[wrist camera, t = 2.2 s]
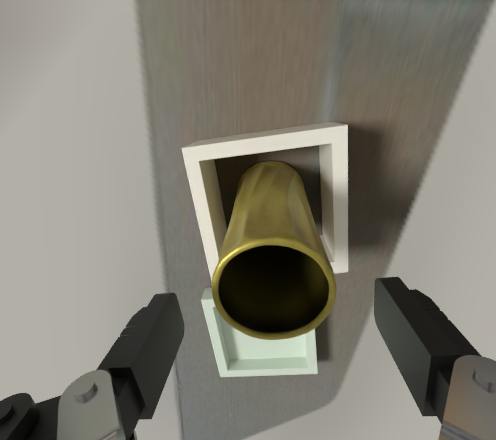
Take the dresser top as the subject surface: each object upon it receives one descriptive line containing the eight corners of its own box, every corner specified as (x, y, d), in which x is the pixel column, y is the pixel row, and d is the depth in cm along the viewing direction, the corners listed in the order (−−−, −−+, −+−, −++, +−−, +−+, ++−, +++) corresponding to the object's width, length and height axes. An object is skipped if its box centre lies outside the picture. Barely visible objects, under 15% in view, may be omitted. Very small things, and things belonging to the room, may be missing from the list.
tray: (205, 287, 29) (201, 299, 27) (309, 279, 27) (312, 292, 26) (223, 362, 33) (220, 377, 31) (314, 358, 31) (317, 373, 30)
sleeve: (198, 140, 23) (181, 148, 18) (330, 121, 22) (347, 124, 17) (221, 253, 27) (212, 282, 22) (333, 242, 26) (348, 272, 21)
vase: (315, 208, 24) (369, 322, 11) (256, 235, 26) (243, 364, 13) (286, 147, 23) (311, 200, 9) (224, 180, 24) (171, 265, 11)
